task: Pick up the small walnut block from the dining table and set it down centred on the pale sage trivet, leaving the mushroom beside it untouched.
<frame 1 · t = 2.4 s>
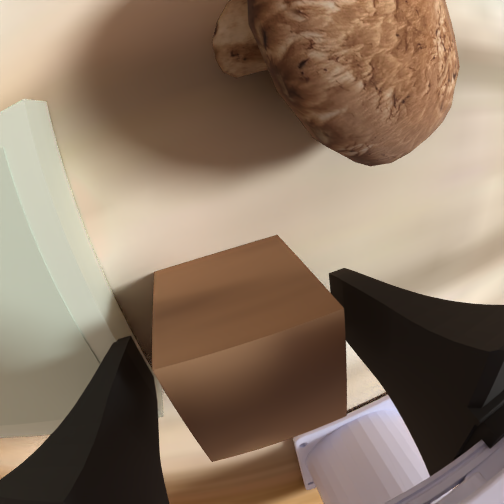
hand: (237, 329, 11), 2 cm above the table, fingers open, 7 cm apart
walnut block: (231, 304, 12), on the table
mushroom: (312, 40, 9), on the table
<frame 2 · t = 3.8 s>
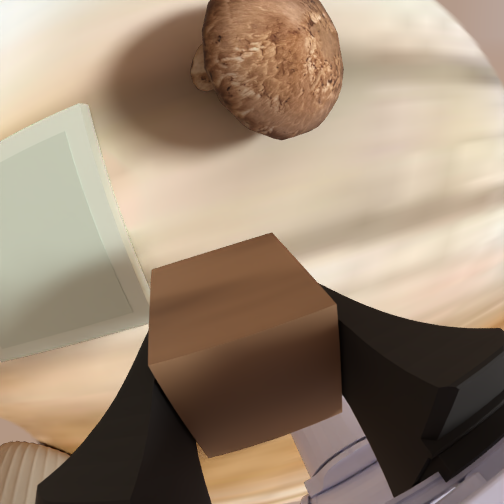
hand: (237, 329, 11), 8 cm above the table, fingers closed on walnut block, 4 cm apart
canister: (50, 465, 23), on the table
walnut block: (227, 302, 12), point 6 cm above the table, touching gripper
sage trivet: (30, 245, 15), on the table
mushroom: (257, 62, 15), on the table
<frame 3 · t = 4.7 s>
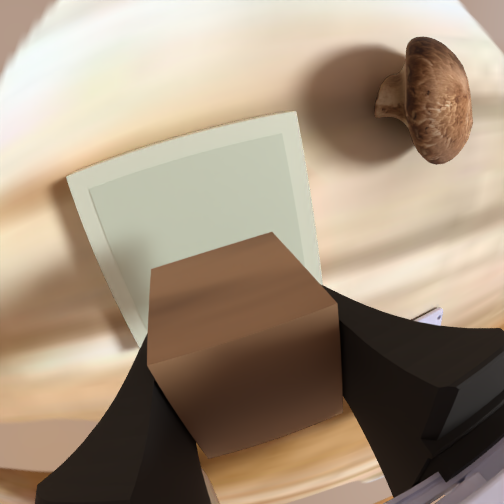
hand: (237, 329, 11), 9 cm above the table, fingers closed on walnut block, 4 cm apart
walnut block: (227, 302, 12), point 7 cm above the table, touching gripper
sage trivet: (206, 237, 19), on the table
mushroom: (402, 98, 18), on the table
when the fingers open (4 cm above the table, at t = 5.9 s): walnut block stays where it is, resting on sage trivet.
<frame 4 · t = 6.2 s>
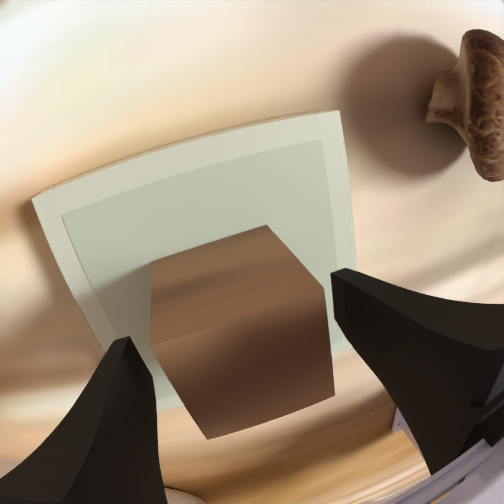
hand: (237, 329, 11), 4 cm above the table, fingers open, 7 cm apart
canister: (144, 502, 23), on the table
walnut block: (225, 291, 13), point 2 cm above the table, touching sage trivet
sage trivet: (217, 271, 15), on the table
mushroom: (449, 100, 14), on the table
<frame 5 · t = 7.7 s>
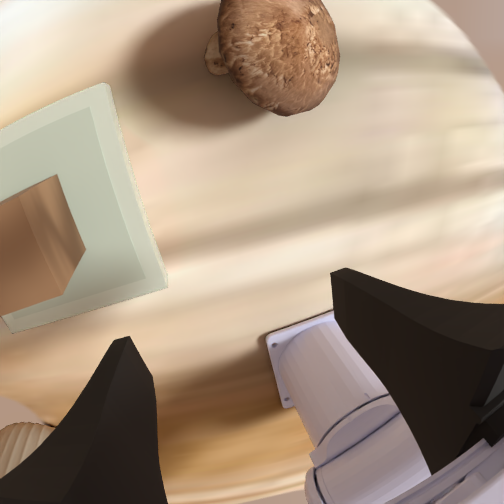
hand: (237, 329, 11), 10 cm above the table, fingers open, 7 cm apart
canister: (54, 449, 25), on the table
walnut block: (38, 226, 15), point 2 cm above the table, touching sage trivet
sage trivet: (48, 216, 17), on the table
mushroom: (263, 51, 16), on the table
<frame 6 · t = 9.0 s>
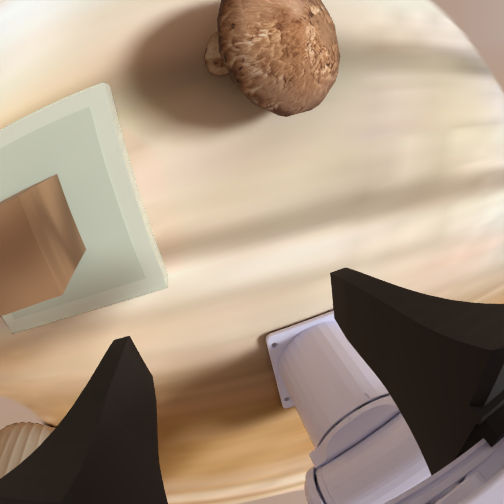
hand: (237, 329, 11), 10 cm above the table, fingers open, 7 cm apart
canister: (54, 449, 25), on the table
walnut block: (38, 226, 15), point 2 cm above the table, touching sage trivet
sage trivet: (48, 216, 17), on the table
mushroom: (263, 51, 16), on the table
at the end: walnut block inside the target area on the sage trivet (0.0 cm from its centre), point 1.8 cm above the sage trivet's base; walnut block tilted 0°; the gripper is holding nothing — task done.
